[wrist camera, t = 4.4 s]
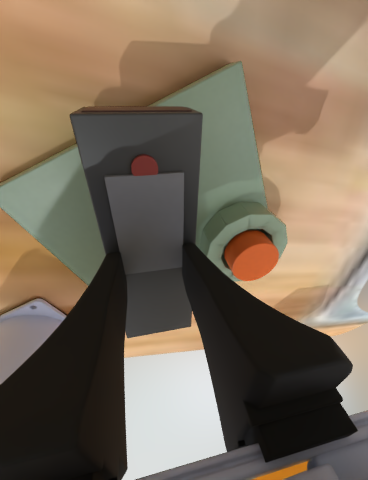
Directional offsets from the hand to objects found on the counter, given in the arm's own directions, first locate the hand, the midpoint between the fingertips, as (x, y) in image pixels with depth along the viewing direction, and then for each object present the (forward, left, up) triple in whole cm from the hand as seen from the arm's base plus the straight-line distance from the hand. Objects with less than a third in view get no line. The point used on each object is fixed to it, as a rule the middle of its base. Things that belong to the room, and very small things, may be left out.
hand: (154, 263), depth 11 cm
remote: (0, 0, -3) cm, 3 cm away
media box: (+1, -1, -7) cm, 7 cm away
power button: (+6, -6, -4) cm, 9 cm away
